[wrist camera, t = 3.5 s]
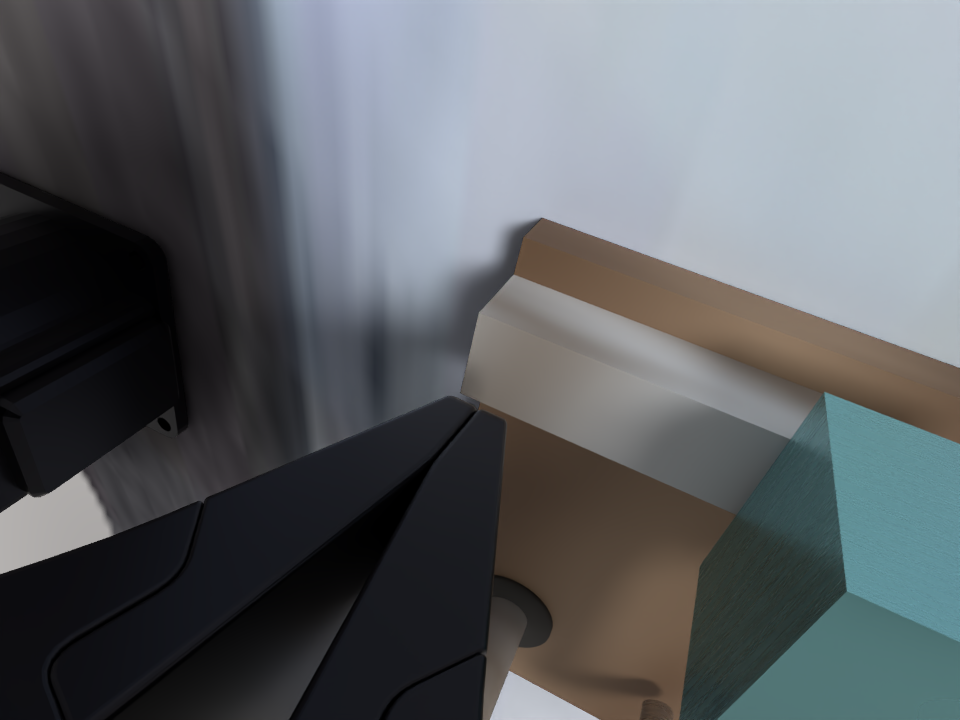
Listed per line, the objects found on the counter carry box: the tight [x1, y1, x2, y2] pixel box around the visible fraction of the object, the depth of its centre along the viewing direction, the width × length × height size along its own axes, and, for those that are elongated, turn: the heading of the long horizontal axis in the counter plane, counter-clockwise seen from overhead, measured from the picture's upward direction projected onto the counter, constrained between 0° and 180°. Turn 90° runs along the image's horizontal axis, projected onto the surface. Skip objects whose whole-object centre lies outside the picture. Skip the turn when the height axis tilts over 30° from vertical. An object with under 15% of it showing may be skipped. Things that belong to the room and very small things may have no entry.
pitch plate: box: [460, 218, 960, 720], centre depth 11 cm, size 13×12×4 cm
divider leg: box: [639, 392, 960, 720], centre depth 9 cm, size 3×10×4 cm, turn 168°
